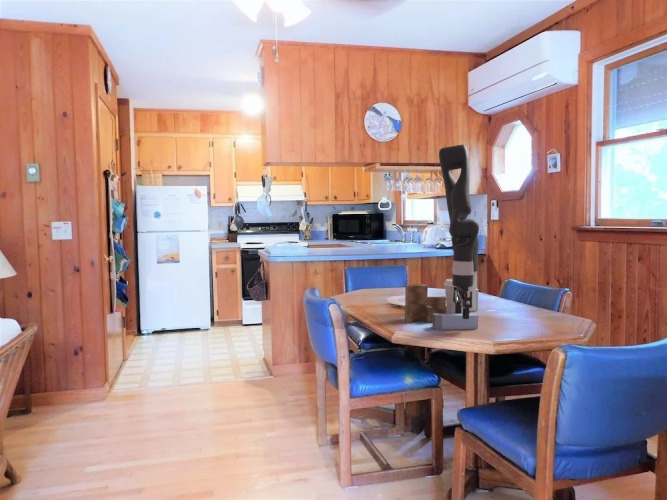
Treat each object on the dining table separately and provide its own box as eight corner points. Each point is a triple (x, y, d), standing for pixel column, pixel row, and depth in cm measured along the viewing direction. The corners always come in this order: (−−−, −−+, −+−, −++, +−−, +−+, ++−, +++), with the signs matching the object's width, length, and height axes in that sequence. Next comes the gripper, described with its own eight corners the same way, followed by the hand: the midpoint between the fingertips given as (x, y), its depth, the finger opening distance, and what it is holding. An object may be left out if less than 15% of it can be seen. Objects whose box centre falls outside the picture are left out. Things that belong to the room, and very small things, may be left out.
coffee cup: (462, 319, 200) (463, 282, 199) (439, 316, 205) (440, 280, 204) (469, 315, 208) (470, 279, 207) (447, 312, 213) (448, 278, 212)
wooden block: (443, 318, 202) (444, 284, 201) (449, 322, 194) (450, 286, 193) (402, 318, 200) (402, 284, 199) (407, 323, 192) (407, 287, 192)
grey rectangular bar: (473, 326, 187) (474, 312, 187) (478, 329, 183) (478, 314, 183) (432, 327, 186) (432, 313, 186) (435, 329, 182) (435, 315, 182)
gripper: (479, 275, 177) (478, 320, 178) (466, 271, 191) (465, 313, 192) (459, 275, 176) (458, 320, 177) (447, 271, 190) (446, 313, 191)
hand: (461, 316), depth 185 cm, fingers open, 8 cm apart
